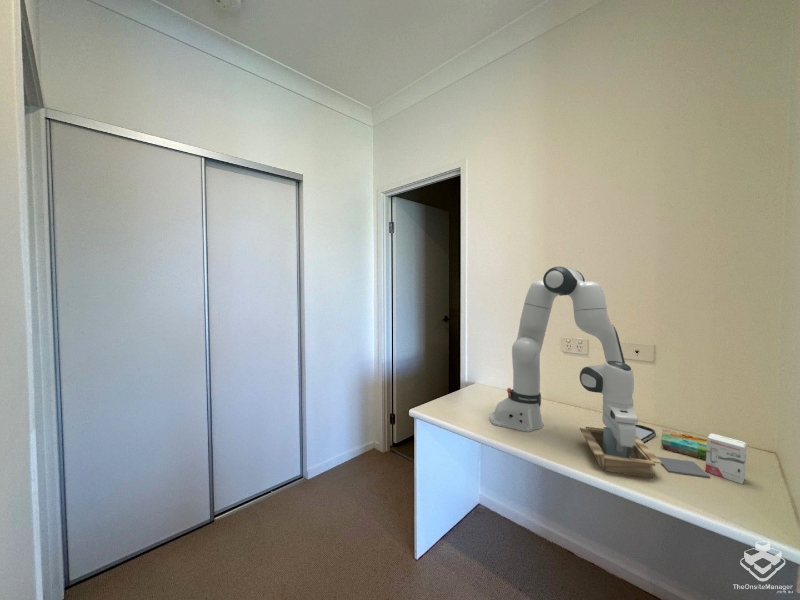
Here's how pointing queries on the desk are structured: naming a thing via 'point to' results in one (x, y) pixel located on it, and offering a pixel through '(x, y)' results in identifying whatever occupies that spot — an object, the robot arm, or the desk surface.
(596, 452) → the brown wooden rectangular frame
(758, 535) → the desk surface
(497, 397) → the desk surface
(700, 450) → the puzzle game
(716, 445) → the ink box
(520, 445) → the desk surface
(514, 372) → the robot arm
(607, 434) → the block
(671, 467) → the mat
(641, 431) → the gaming console
